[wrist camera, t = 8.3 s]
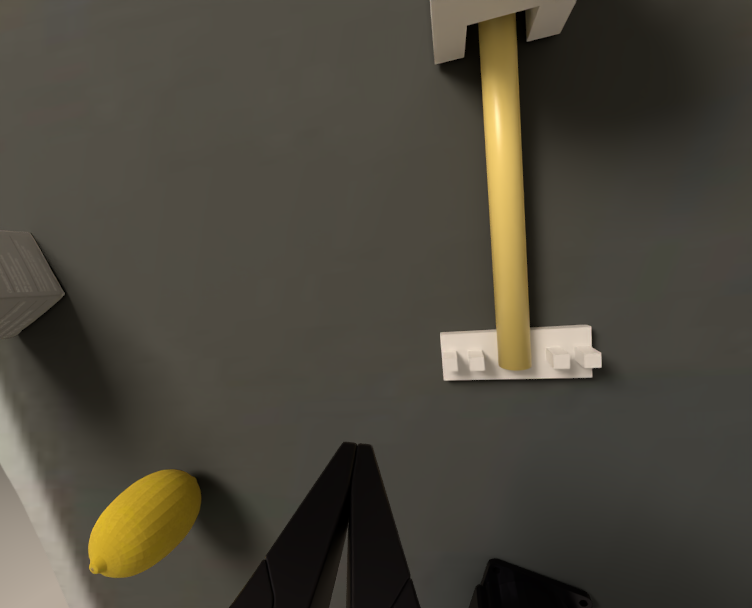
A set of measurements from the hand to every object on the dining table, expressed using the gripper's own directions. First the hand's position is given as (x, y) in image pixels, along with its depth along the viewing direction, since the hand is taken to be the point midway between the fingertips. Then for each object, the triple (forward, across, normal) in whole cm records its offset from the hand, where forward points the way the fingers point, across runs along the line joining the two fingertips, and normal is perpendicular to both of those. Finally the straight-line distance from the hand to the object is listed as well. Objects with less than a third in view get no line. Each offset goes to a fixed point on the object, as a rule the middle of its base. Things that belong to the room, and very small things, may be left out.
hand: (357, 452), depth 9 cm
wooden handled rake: (+14, -6, -8) cm, 18 cm away
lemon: (+10, +14, +19) cm, 26 cm away
